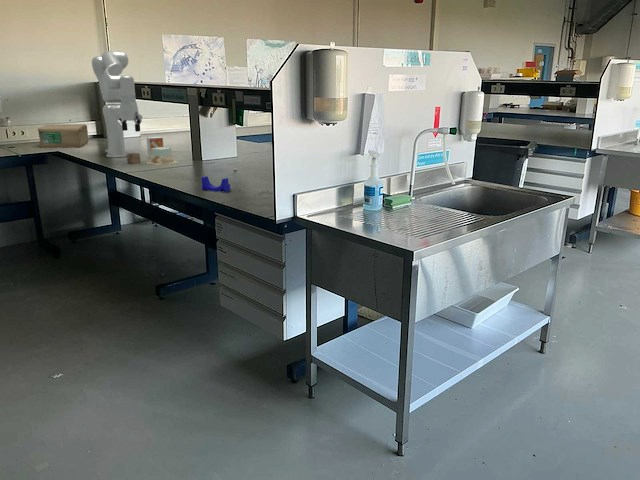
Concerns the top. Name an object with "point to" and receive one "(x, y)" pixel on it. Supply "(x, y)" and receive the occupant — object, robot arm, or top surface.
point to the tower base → (161, 159)
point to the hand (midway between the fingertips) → (131, 130)
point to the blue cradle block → (208, 186)
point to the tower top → (161, 151)
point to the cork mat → (163, 164)
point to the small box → (153, 143)
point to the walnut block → (133, 158)
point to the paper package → (63, 135)
